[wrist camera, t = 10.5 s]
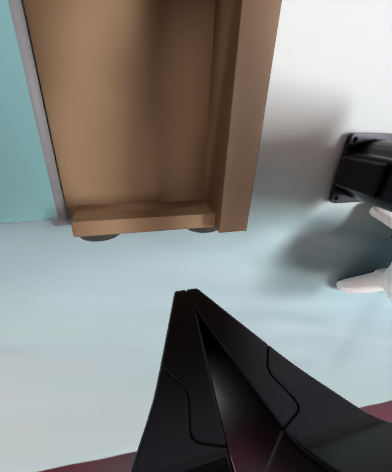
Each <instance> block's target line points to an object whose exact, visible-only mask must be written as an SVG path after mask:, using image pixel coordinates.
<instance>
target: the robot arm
mask: <svg viewBox="0 0 392 472" xmlns="http://www.w3.org/2000/svg"><path fill="white" fill-rule="evenodd" d="M353 138H354V140H353ZM329 201H330V202H333V203H346V202H365V203H368V204H371V205H373V206H376V207H379V208H381V209H384V210H387V211H389V212H392V134H368V133H351V134H350V135H349V136H348V138H347V141H346V144H345V148H344V151H343V154H342V157H341V161H340V164H339V167H338V171H337V174H336V177H335V180H334V184H333V187H332V190H331V193H330V197H329ZM391 238H392V236H391ZM229 453H230V454H229ZM230 455H231V458H232V461H233V464H234V467H235V470H236V472H392V423H390V422H387V421H384V420H381V419H379V418H376V417H374V416H372V415H370V414H368V413H367V412H365V411H363V410H361V409H360V408H358V407H356V406H355V405H353V404H352V403H350V402H349V401H347V400H346V399H344V398H343V397H341V396H340V395H338V394H337V393H335V392H334V391H332V390H331V389H329V388H328V387H326V386H325V385H323V384H322V383H320V382H319V381H317V380H316V379H314V378H313V377H311V376H310V375H308V374H307V373H305V372H304V371H302V370H301V369H300V368H298V367H297V366H295V365H294V364H292V363H291V362H290V361H288V360H287V359H286V358H284V357H283V356H282V355H281V354H279V353H278V352H277V351H275V350H274V349H273V348H272V347H270V346H268V345H267V344H266V343H265V342H264V341H263V340H261V339H260V338H259V337H258V336H256V335H255V334H254V333H253V332H251V331H250V330H249V329H248V328H246V327H245V326H244V325H243V324H241V323H240V322H239V321H237V320H236V319H235V318H234V317H232V316H231V315H230V314H229V313H227V312H226V311H225V310H224V309H222V308H221V307H220V306H219V305H217V304H216V303H215V302H214V301H212V300H211V299H210V298H208V297H207V296H206V295H205V294H203V293H202V292H201V291H200V290H198V289H189V290H187V291H185V290H181V291H176V292H175V293H174V298H173V303H172V308H171V314H170V319H169V324H168V329H167V335H166V340H165V345H164V350H163V355H162V361H161V366H160V371H159V376H158V381H157V386H156V390H155V394H154V399H153V403H152V406H151V409H150V413H149V416H148V419H147V423H146V426H145V429H144V432H143V435H142V438H141V441H140V444H139V447H138V450H137V453H136V457H135V459H134V462H133V465H132V468H131V471H130V472H234V468H233V465H232V461H231V458H230Z"/></svg>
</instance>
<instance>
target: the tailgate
mask: <svg viewBox="0 0 392 472" xmlns="http://www.w3.org/2000/svg"><path fill="white" fill-rule="evenodd" d="M50 219H52V220H53V224H54V225H57V226H59V225H65V224H67V223H68V219H67V214H66V209H65V205H64V200H63V195H62V190H61V186H60V181H59V176H58V172H57V167H56V162H55V157H54V153H53V148H52V143H51V139H50V134H49V129H48V124H47V120H46V115H45V110H44V106H43V101H42V96H41V91H40V87H39V82H38V77H37V73H36V68H35V63H34V58H33V54H32V49H31V44H30V39H29V35H28V30H27V25H26V21H25V16H24V11H23V6H22V2H21V0H0V223H10V222H23V221H37V220H50Z"/></svg>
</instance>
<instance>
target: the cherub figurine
mask: <svg viewBox="0 0 392 472" xmlns="http://www.w3.org/2000/svg"><path fill="white" fill-rule="evenodd" d="M370 214H371V215H372V216H373V217H374V218H376V219H378V220H379V221H381V222H382V223H384V224H385V225H387V226H388V227H390V228H391V229H392V212H389V211H387V210H384V209H381V208H379V207H376V206H373V207H372V208H371V209H370ZM337 288H338V289H339V290H341V291H344V292H353V293H363V292H378V291H387V294H388V297H389V298H390V300H391V301H392V263H391V265H390V266H389V267H388V268H384V269H378V270H375V272H373V273H368V274H364V275H360V276H356V277H352V278H348V279H344V280H340V281H338V282H337Z"/></svg>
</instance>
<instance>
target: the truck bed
mask: <svg viewBox="0 0 392 472" xmlns="http://www.w3.org/2000/svg"><path fill="white" fill-rule="evenodd" d="M23 2H24V7H25V12H26V16H27V21H28V26H29V31H30V36H31V40H32V45H33V50H34V55H35V59H36V64H37V69H38V74H39V79H40V83H41V88H42V93H43V98H44V102H45V107H46V112H47V117H48V122H49V126H50V131H51V136H52V141H53V145H54V150H55V155H56V160H57V165H58V169H59V174H60V179H61V184H62V188H63V193H64V198H65V203H66V208H67V212H68V217H69V219H72V221H71V225H72V230H73V235H74V237H80V238H82V239H84V240H87V241H105V240H109V239H112V238H115V237H116V236H118V235H119V234H122V233H136V232H149V231H163V230H176V229H188V230H191V231H194V232H199V233H208V232H213V231H216V230H218V232H219V233H222V232H234V231H246V228H247V222H248V215H249V209H250V202H251V196H252V189H253V183H254V177H255V170H256V164H257V157H258V151H259V144H260V138H261V131H262V125H263V118H264V112H265V105H266V99H267V93H268V86H269V80H270V73H271V67H272V60H273V54H274V47H275V41H276V34H277V28H278V21H279V15H280V9H281V2H282V0H23Z"/></svg>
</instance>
